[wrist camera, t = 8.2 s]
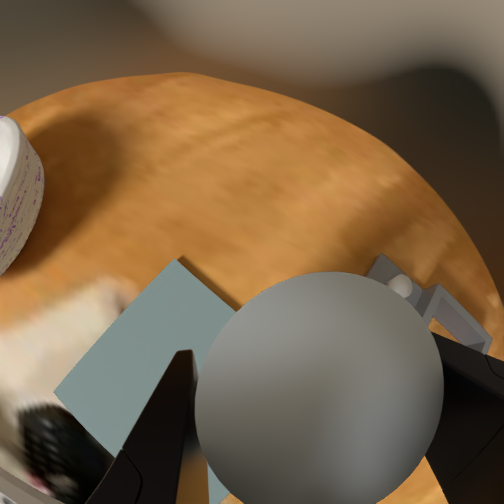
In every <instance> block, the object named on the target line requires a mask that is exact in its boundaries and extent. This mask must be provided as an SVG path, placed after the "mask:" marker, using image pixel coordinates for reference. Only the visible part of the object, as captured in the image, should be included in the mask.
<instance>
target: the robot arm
mask: <svg viewBox="0 0 504 504" xmlns="http://www.w3.org/2000/svg"><path fill="white" fill-rule="evenodd" d="M430 332H431V331H430ZM431 334H432V336H433V338H434V340H435V343H436V345H437V348H438V351H439V355H440V359H441V363H442V369H443V378H444V396H443V405H442V411H441V416H440V420H439V424H438V427H437V430H436V432H435V435H434V438H433V440H432V442H431V444H430V446H429V448H428V450H427V452H426V454H425V457H426V459H427V461H428V463H429V465H430V467H431V469H432V471H433V473H434V475H435V476H436V478H437V480H438V482H439V485H440V487H441V489H442V491H443V493H444V495H445V497H446V499H447V501H448V503H449V504H504V361H501V360H499V359H496V358H494V357H491V356H489V355H487V354H483V353H482V352H479V351H477V350H474V349H472V348H469V347H467V346H465V345H462V344H460V343H457V342H455V341H452V340H450V339H448V338H445V337H443V336H440V335H438V334H436V333H433V332H431ZM198 378H199V375H198V370H197V366H196V361H195V357H194V353H193V350H191V349H187V350H179V351H177V352H176V353H175V355H174V356H173V358H172V360H171V362H170V363H169V365H168V367H167V369H166V370H165V372H164V374H163V375H162V377H161V379H160V381H159V382H158V384H157V386H156V388H155V389H154V391H153V393H152V395H151V396H150V398H149V400H148V402H147V403H146V405H145V407H144V409H143V410H142V412H141V414H140V416H139V417H138V419H137V421H136V423H135V424H134V426H133V428H132V430H131V431H130V433H129V435H128V437H127V438H126V440H125V442H124V444H123V446H122V449H123V450H122V449H120V451H119V452H118V454H117V456H116V458H115V460H114V461H113V463H112V465H111V466H110V468H109V470H108V471H107V473H106V475H105V476H104V478H103V479H102V481H101V482H100V483H99V485H98V486H97V488H96V489H95V491H94V492H93V493H92V495H91V496H90V497H89V499H88V500H87V501H86V503H85V504H209V487H208V464H207V460H206V458H205V456H204V454H203V452H202V449H201V445H200V442H199V439H198V435H197V429H196V422H195V396H196V390H197V383H198Z"/></svg>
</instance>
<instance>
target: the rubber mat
mask: <svg viewBox="0 0 504 504" xmlns="http://www.w3.org/2000/svg"><path fill="white" fill-rule="evenodd" d="M235 313H236V311H234V310H233V309H232V308H231V307H230V306H228V305H227V304H226V303H225V302H224V301H223V300H221V299H220V298H219V297H218V296H217V295H216V294H214V293H213V292H212V291H211V290H210V289H209V288H208V287H206V286H205V285H204V284H203V283H202V282H201V281H199V280H198V279H197V278H196V277H195V276H194V275H193V274H192V273H190V272H189V271H188V270H187V269H186V268H185V267H184V266H183V265H181V264H180V263H179V262H178V261H177V260H176V259H175V258H174V259H173V260H172V261H171V262H170V263H169V264H168V265H167V266H166V267H165V268H164V269H163V270H162V271H161V272H160V274H159V275H158V276H157V277H156V278H155V279H154V280H153V281H152V282H151V283H150V284H149V285H148V286H147V287H146V288H145V289H144V290H143V291H142V292H141V293H140V295H139V296H138V297H137V298H136V299H135V300H134V301H133V302H132V303H131V304H130V305H129V306H128V307H127V308H126V310H125V311H124V312H123V313H122V314H121V315H120V316H119V317H118V318H117V319H116V320H115V322H114V323H113V324H112V325H111V326H110V327H109V328H108V329H107V330H106V331H105V333H104V334H103V335H102V336H101V337H100V338H99V339H98V340H97V342H96V343H95V344H94V345H93V346H92V347H91V348H90V349H89V351H88V352H87V353H86V354H85V355H84V356H83V357H82V359H81V360H80V361H79V362H78V363H77V364H76V366H75V367H74V368H73V369H72V370H71V371H70V373H69V374H68V375H67V376H66V377H65V378H64V380H63V381H62V382H61V383H60V384H59V386H58V387H57V388H56V389H55V390H54V393H55V395H56V396H57V397H58V398H59V400H60V401H61V402H62V403H63V404H64V405H65V407H66V408H67V409H68V410H69V411H70V412H71V413H72V414H73V416H74V417H75V418H76V419H77V420H78V421H79V422H80V423H81V424H82V425H83V426H84V427H85V429H86V430H87V431H88V432H89V433H90V434H91V435H92V436H93V437H94V438H95V439H96V440H97V441H98V442H99V443H100V444H101V445H102V446H103V447H105V448H106V449H107V450H108V451H109V452H110V453H111V454H112V455H113V456H114V457H115V458H116V456H117V454H118V452H119V451H120V449H122V446H123V444H124V442H125V440H126V438H127V437H128V435H129V433H130V431H131V430H132V428H133V426H134V424H135V423H136V421H137V419H138V417H139V416H140V414H141V412H142V410H143V409H144V407H145V405H146V403H147V402H148V400H149V398H150V396H151V395H152V393H153V391H154V389H155V388H156V386H157V384H158V382H159V381H160V379H161V377H162V375H163V374H164V372H165V370H166V369H167V367H168V365H169V363H170V362H171V360H172V358H173V356H174V355H175V353H176V352H177V351H179V350H187V349H191V350H193V353H194V357H195V361H196V366H197V370H198V375H200V372H201V369H202V366H203V362H204V360H205V358H206V356H207V354H208V352H209V349H210V347H211V345H212V343H213V342H214V340H215V339H216V337H217V336H218V334H219V333H220V331H221V329H222V328H223V327H224V326H225V324H226V323H227V322H228V321H229V320H230V319H231V317H232V316H233V315H234V314H235ZM122 450H123V449H122ZM207 464H208V462H207ZM208 487H209V504H219V503H220V502H221V501H222V500H223V499H224V498H225V497H226V496H227V495H228V494H229V493H230V492H229V491H228V490H227V489H226V488H225V486H224V485H223V484H222V483H221V482H220V481H219V480H218V478H217V477H216V475H215V474H214V473H213V471H212V470H211V468H210V467H209V464H208Z"/></svg>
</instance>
